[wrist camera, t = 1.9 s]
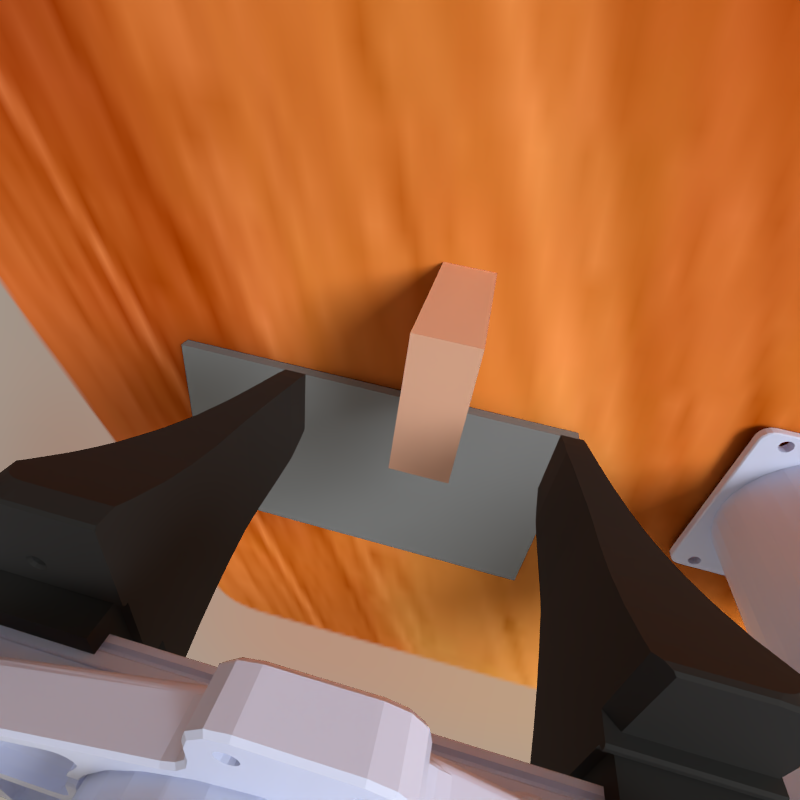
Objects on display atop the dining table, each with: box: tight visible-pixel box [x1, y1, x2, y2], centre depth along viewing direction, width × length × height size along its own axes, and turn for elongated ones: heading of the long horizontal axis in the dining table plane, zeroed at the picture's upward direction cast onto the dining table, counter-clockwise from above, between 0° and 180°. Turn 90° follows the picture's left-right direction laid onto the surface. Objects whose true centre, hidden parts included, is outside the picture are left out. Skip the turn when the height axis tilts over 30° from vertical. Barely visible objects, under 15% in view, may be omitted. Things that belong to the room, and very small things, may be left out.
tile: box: [389, 262, 497, 483], centre depth 16 cm, size 2×5×6 cm, turn 171°
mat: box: [182, 340, 579, 580], centre depth 24 cm, size 18×10×1 cm, turn 82°
